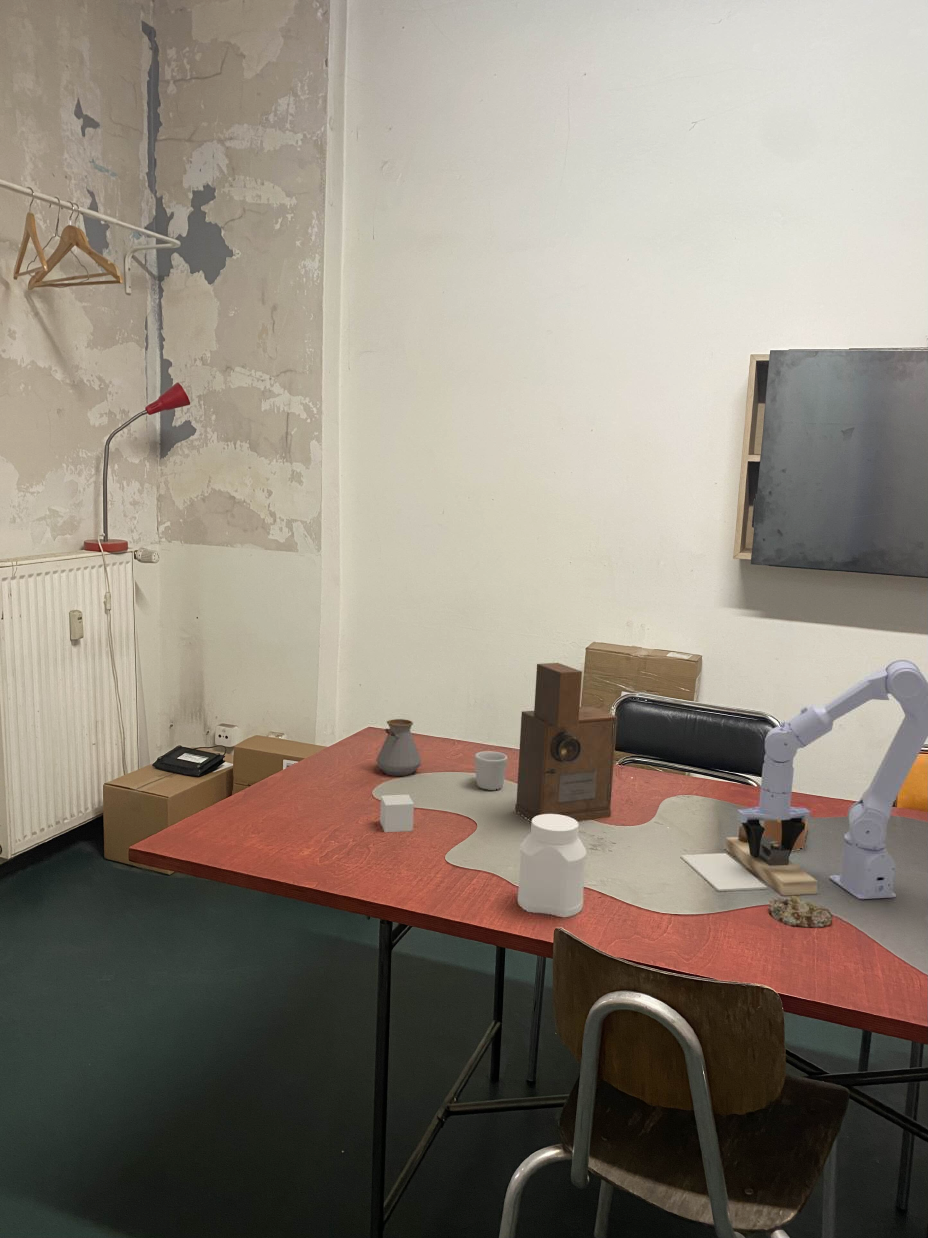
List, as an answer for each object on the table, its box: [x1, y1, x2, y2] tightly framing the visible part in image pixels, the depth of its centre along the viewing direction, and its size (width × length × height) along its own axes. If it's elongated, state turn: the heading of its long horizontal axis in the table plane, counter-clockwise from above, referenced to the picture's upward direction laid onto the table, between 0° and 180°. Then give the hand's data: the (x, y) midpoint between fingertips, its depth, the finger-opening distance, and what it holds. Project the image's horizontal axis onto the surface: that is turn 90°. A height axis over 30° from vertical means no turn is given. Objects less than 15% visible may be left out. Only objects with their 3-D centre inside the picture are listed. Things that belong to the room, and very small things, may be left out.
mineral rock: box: [768, 895, 834, 928], centre depth 159 cm, size 11×4×8 cm
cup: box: [474, 750, 509, 791], centre depth 223 cm, size 11×8×8 cm
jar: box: [517, 814, 587, 918], centre depth 159 cm, size 12×10×15 cm
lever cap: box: [758, 836, 791, 866], centre depth 179 cm, size 7×4×4 cm, turn 12°
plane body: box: [724, 825, 819, 897], centre depth 179 cm, size 22×7×5 cm, turn 12°
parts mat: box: [679, 852, 768, 892], centre depth 177 cm, size 16×10×1 cm, turn 12°
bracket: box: [762, 819, 809, 851], centre depth 198 cm, size 18×8×7 cm, turn 155°
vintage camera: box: [514, 662, 618, 822], centre depth 201 cm, size 19×14×35 cm
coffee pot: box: [375, 718, 422, 777], centre depth 225 cm, size 21×12×15 cm, turn 171°
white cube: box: [379, 794, 415, 833], centre depth 193 cm, size 6×6×6 cm
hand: (769, 855), depth 179 cm, fingers open, 6 cm apart
